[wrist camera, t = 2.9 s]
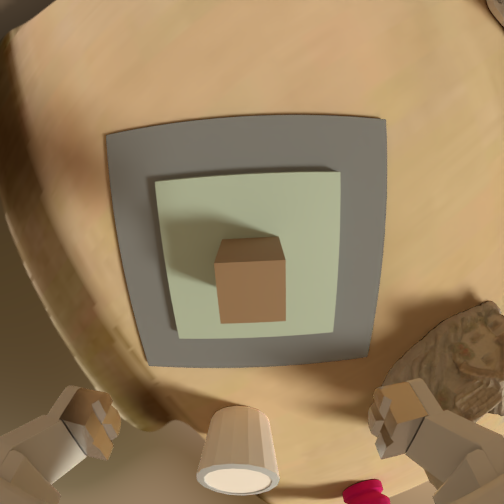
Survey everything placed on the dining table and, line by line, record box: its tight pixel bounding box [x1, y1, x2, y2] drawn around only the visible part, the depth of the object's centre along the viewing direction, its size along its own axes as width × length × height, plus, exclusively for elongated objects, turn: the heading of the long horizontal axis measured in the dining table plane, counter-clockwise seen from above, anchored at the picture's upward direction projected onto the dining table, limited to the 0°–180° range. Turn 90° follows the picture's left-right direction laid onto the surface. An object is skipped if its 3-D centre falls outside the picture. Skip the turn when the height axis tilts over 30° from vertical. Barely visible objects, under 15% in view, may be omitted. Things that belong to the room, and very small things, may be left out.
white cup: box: [197, 406, 280, 495], centre depth 22 cm, size 7×7×7 cm
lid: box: [155, 171, 341, 339], centre depth 17 cm, size 11×11×5 cm
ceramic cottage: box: [382, 301, 504, 490], centre depth 17 cm, size 16×16×15 cm
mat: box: [106, 115, 387, 368], centre depth 19 cm, size 18×18×1 cm
